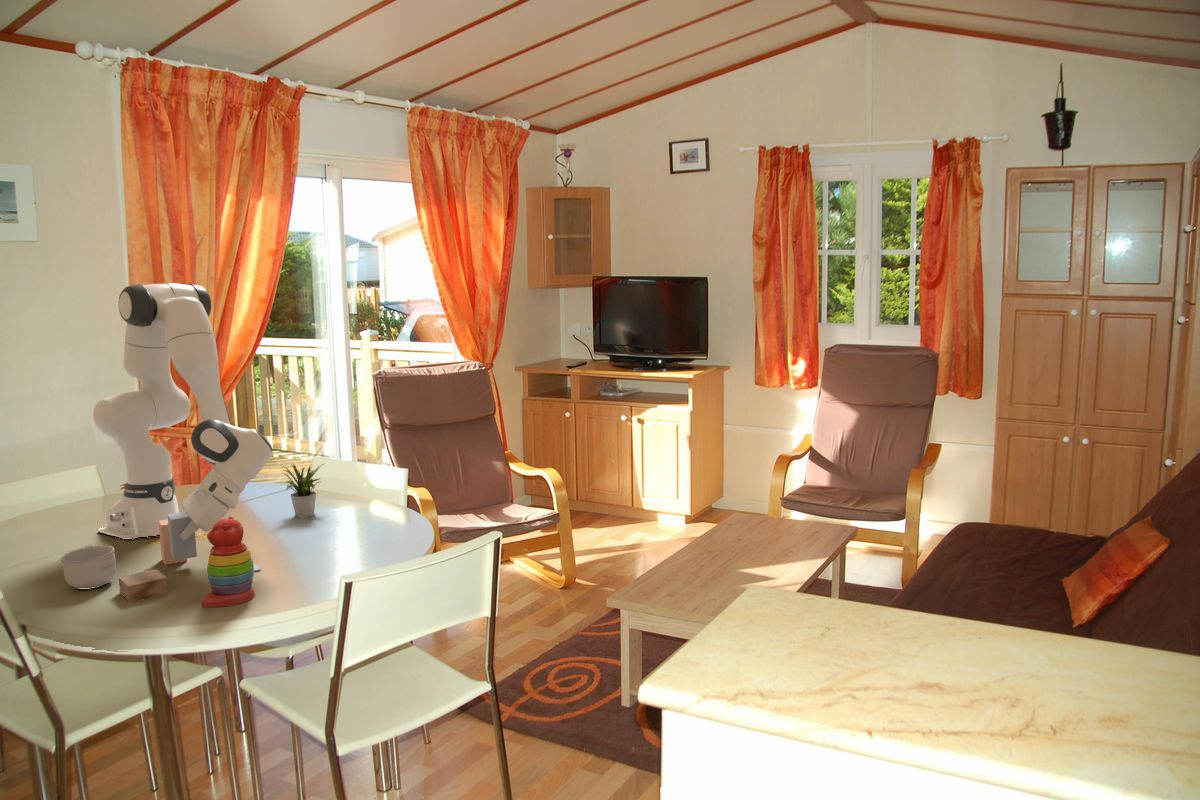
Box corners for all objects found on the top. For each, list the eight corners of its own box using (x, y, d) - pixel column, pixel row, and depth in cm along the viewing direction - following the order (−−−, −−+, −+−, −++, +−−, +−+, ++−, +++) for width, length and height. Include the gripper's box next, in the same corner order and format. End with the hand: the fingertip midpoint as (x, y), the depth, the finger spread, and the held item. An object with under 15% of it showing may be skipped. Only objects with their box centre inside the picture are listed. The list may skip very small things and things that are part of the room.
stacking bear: (215, 590, 208) (208, 513, 205) (261, 588, 208) (256, 511, 206) (198, 608, 197) (191, 527, 194) (247, 606, 198) (241, 525, 195)
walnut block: (129, 603, 201) (128, 586, 201) (120, 594, 207) (118, 577, 207) (168, 594, 206) (167, 577, 206) (158, 585, 212) (156, 568, 212)
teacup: (112, 590, 209) (108, 556, 208) (58, 596, 206) (54, 561, 205) (124, 571, 222) (121, 539, 221) (74, 576, 219) (70, 543, 218)
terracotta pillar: (165, 565, 226) (161, 525, 225) (161, 559, 230) (158, 520, 229) (187, 561, 229) (183, 521, 227) (183, 556, 233) (180, 517, 231)
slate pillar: (174, 560, 219) (171, 519, 218) (170, 554, 223) (167, 514, 222) (196, 556, 222) (193, 516, 220) (192, 551, 226) (190, 511, 225)
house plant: (265, 521, 263) (261, 465, 261) (287, 508, 277) (283, 454, 274) (313, 522, 261) (309, 465, 259) (333, 509, 275) (329, 455, 273)
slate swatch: (234, 575, 217) (234, 574, 217) (228, 568, 222) (228, 567, 222) (260, 570, 220) (260, 569, 220) (254, 564, 225) (254, 562, 225)
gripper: (201, 472, 232) (161, 516, 228) (218, 490, 215) (175, 537, 212) (221, 487, 235) (182, 530, 232) (239, 505, 218) (198, 553, 215)
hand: (179, 534), depth 221 cm, fingers closed on slate pillar, 5 cm apart
